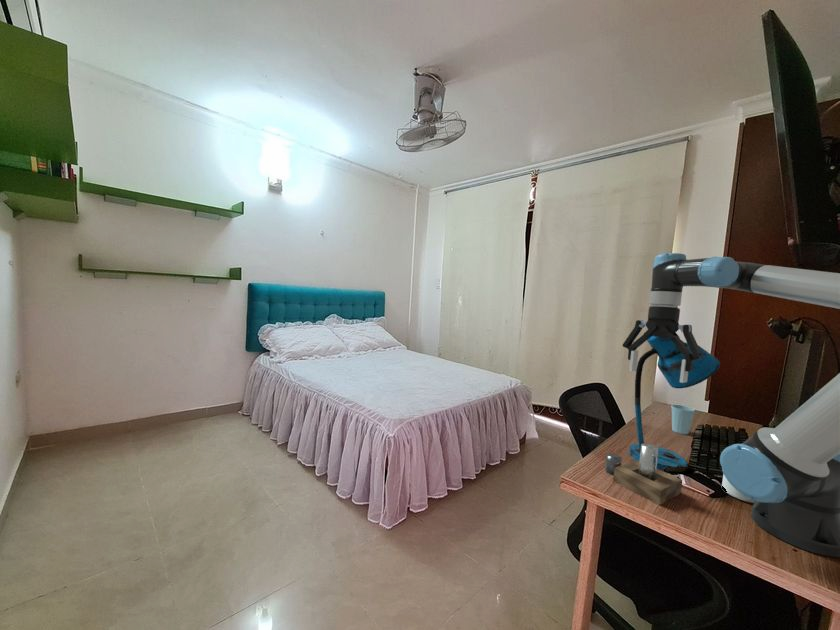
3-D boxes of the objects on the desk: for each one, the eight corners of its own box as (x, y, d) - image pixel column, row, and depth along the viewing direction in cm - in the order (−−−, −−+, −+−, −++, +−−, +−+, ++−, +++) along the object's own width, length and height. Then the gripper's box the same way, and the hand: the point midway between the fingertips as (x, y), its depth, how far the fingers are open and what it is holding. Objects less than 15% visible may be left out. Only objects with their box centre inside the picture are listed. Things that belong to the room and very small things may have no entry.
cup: (694, 433, 136) (697, 409, 136) (688, 437, 132) (691, 412, 131) (672, 426, 143) (675, 403, 142) (666, 430, 138) (668, 406, 138)
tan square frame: (680, 493, 91) (682, 479, 91) (659, 505, 85) (660, 490, 85) (635, 472, 101) (636, 459, 101) (613, 480, 96) (614, 467, 95)
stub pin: (622, 474, 100) (624, 458, 100) (615, 476, 98) (617, 460, 98) (609, 467, 103) (611, 452, 103) (602, 470, 101) (603, 454, 101)
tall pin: (657, 489, 92) (661, 448, 92) (649, 493, 90) (654, 451, 90) (641, 482, 96) (645, 442, 95) (634, 485, 94) (638, 444, 93)
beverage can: (770, 507, 87) (776, 464, 87) (734, 501, 89) (740, 459, 88) (746, 489, 95) (751, 450, 94) (714, 485, 97) (719, 445, 96)
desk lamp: (717, 479, 100) (735, 334, 97) (636, 465, 105) (651, 327, 102) (688, 455, 115) (704, 329, 112) (619, 444, 121) (632, 324, 118)
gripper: (723, 309, 88) (714, 386, 90) (627, 304, 110) (621, 366, 111) (712, 308, 85) (702, 389, 86) (615, 303, 106) (608, 367, 108)
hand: (656, 376), depth 99 cm, fingers open, 13 cm apart
